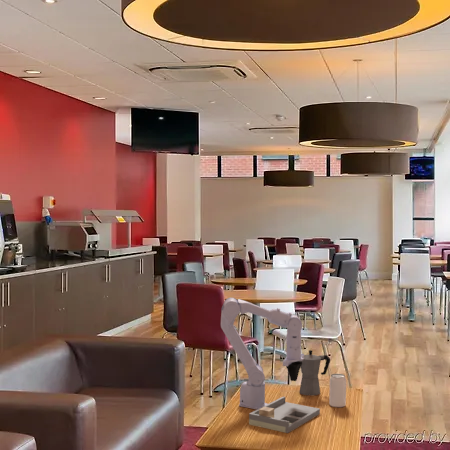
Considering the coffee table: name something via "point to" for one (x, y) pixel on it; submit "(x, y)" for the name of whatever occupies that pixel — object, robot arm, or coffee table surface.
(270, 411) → the block
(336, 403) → the can
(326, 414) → the coffee table surface
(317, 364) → the coffeepot
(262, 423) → the box
